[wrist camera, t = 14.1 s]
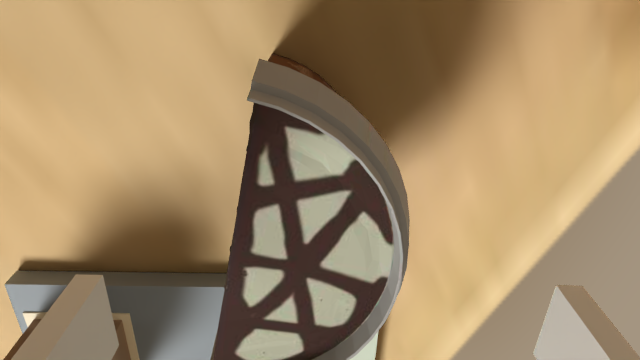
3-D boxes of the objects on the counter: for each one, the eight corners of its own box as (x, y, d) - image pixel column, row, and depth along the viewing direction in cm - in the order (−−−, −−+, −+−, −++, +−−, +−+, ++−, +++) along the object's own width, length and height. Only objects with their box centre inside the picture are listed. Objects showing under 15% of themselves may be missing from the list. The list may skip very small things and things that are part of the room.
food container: (344, 262, 26) (362, 425, 17) (239, 244, 25) (200, 404, 16) (410, 50, 21) (486, 126, 12) (277, 20, 20) (250, 76, 11)
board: (58, 388, 30) (47, 405, 29) (17, 270, 26) (3, 285, 25) (366, 390, 31) (369, 407, 30) (380, 275, 26) (383, 290, 25)
